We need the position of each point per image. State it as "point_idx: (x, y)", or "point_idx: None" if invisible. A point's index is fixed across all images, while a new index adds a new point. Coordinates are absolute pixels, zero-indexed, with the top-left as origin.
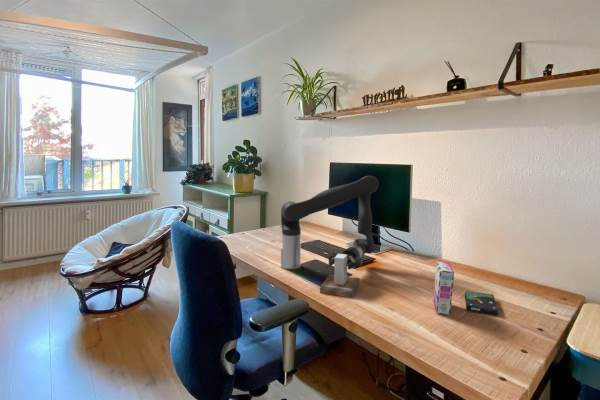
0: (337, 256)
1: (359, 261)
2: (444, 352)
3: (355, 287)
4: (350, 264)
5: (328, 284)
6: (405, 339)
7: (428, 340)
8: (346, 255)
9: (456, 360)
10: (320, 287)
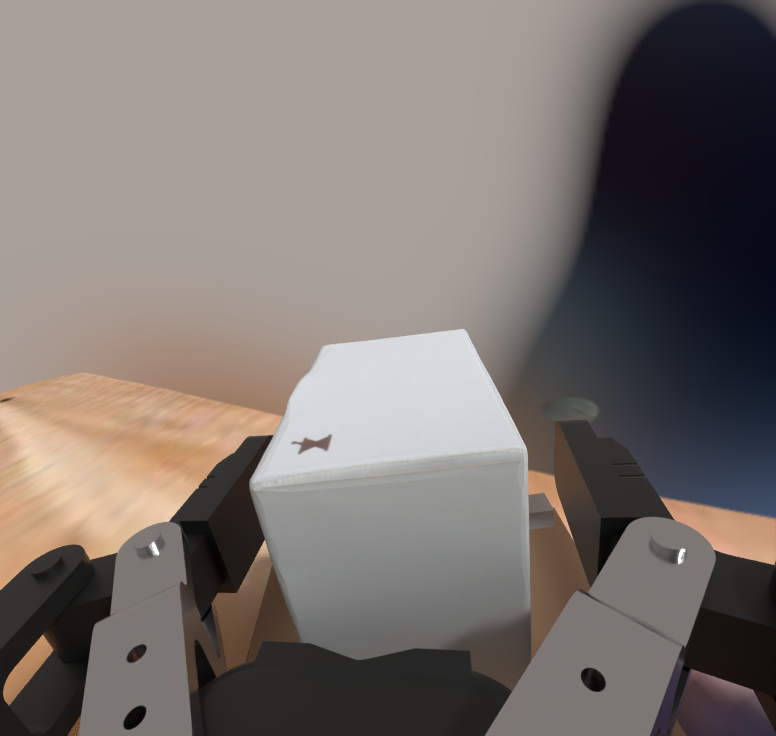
0: (440, 350)
1: (4, 592)
2: (65, 411)
3: (251, 650)
4: (238, 459)
5: (537, 595)
6: (143, 411)
7: (71, 428)
8: (273, 439)
9: (58, 403)
10: (555, 513)
